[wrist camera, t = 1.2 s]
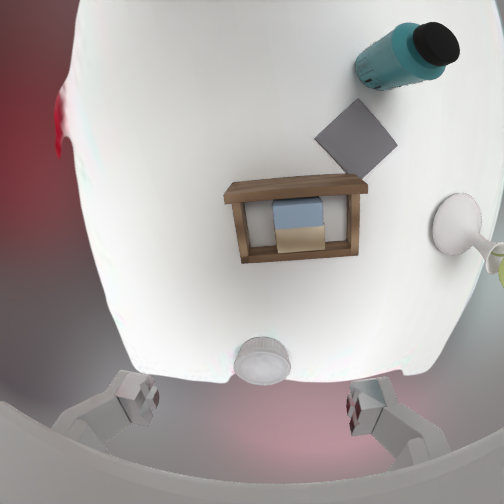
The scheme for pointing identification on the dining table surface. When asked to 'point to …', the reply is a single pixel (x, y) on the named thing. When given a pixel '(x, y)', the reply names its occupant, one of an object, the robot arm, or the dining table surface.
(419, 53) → the beverage bottle
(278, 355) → the ramekin
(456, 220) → the flower in vase
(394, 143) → the mat
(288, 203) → the light blue block
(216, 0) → the dining table surface
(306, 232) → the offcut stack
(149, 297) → the dining table surface
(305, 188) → the brown wooden drawer
